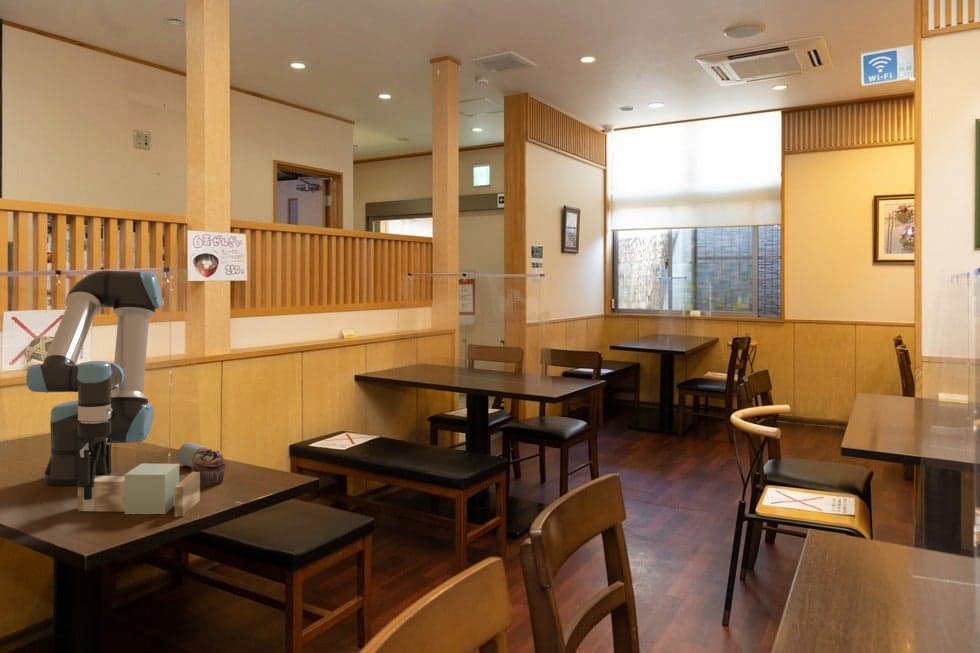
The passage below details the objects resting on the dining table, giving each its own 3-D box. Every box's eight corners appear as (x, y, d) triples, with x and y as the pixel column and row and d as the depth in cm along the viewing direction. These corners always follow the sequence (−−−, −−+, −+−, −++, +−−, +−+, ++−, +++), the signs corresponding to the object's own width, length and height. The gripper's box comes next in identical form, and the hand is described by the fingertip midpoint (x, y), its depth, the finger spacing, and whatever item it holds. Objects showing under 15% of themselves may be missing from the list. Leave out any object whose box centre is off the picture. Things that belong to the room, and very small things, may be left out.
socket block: (124, 514, 172) (124, 474, 172) (141, 501, 182) (141, 463, 182) (164, 514, 173) (165, 474, 173) (179, 501, 183) (179, 463, 183)
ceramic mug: (193, 471, 210) (193, 448, 210) (176, 467, 214) (177, 443, 214) (221, 464, 220) (222, 441, 219) (204, 460, 224) (205, 438, 223)
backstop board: (174, 517, 172) (174, 486, 172) (192, 500, 185) (192, 471, 185) (182, 517, 172) (182, 487, 172) (199, 500, 185) (199, 472, 185)
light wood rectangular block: (78, 511, 174) (77, 481, 173) (87, 504, 179) (87, 475, 178) (141, 511, 175) (141, 481, 174) (149, 505, 180) (149, 476, 179)
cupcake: (232, 479, 204) (232, 447, 203) (212, 489, 195) (212, 456, 194) (205, 476, 206) (205, 444, 205) (184, 485, 197) (184, 452, 196)
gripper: (91, 428, 166) (92, 519, 168) (125, 413, 184) (125, 495, 186) (60, 427, 165) (61, 519, 167) (97, 413, 183) (97, 495, 185)
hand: (95, 506), depth 176 cm, fingers closed on light wood rectangular block, 5 cm apart
